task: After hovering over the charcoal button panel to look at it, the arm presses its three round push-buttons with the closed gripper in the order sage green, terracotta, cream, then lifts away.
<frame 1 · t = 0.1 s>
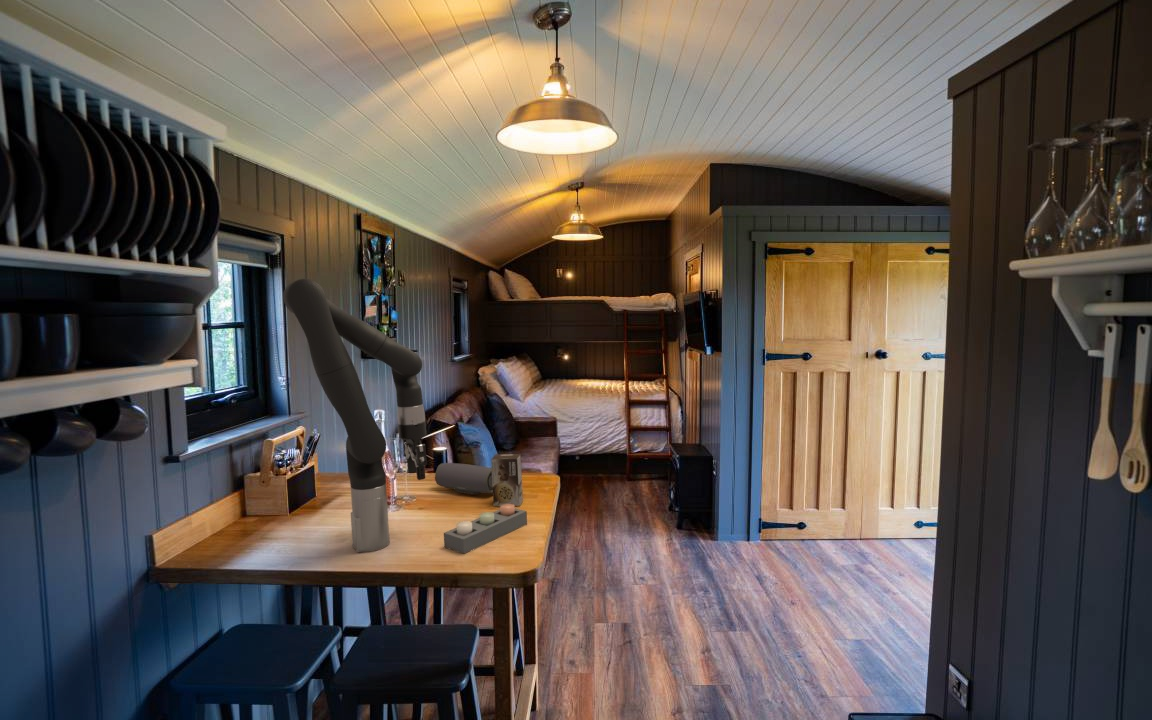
hand: (416, 475, 163), 17 cm above the table, tool pointing down, fingers open, 8 cm apart
coffee box: (508, 503, 189), on the table
button panel: (487, 535, 162), on the table
cream button: (464, 529, 155), point 4 cm above the table, slide at 0.0 cm
terracotta button: (507, 511, 169), point 4 cm above the table, slide at 0.0 cm
sage button: (487, 520, 162), point 4 cm above the table, slide at 0.0 cm
bluetooth speaker: (468, 492, 203), on the table
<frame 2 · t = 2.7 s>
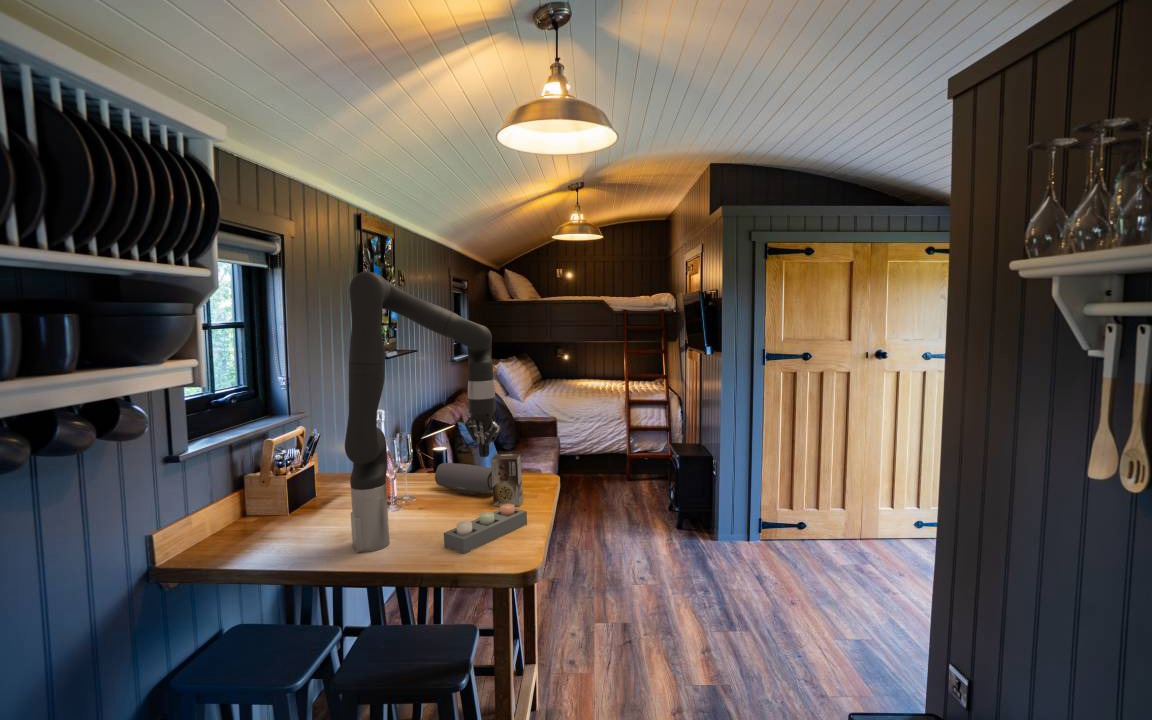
hand: (484, 456, 161), 23 cm above the table, tool pointing down, fingers closed
nothing on the table moved.
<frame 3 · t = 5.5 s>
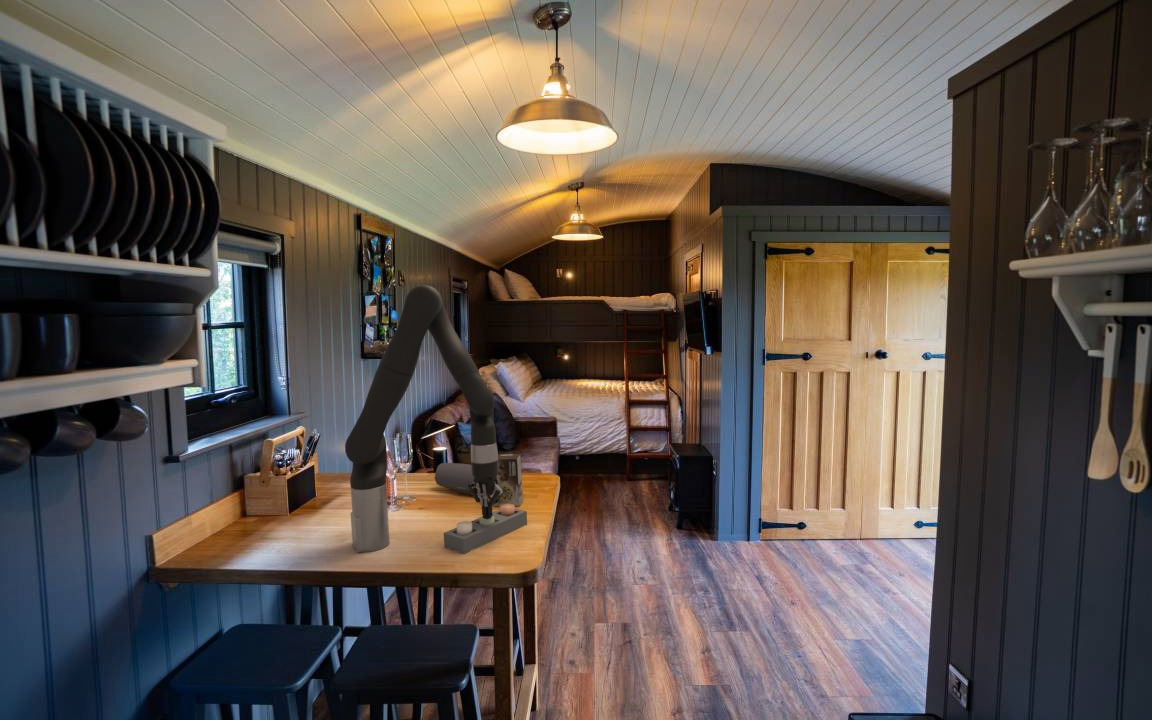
hand: (487, 517, 162), 5 cm above the table, tool pointing down, fingers closed
sage button: (487, 523, 162), point 3 cm above the table, slide at 1.0 cm, touching gripper
everything else where it was.
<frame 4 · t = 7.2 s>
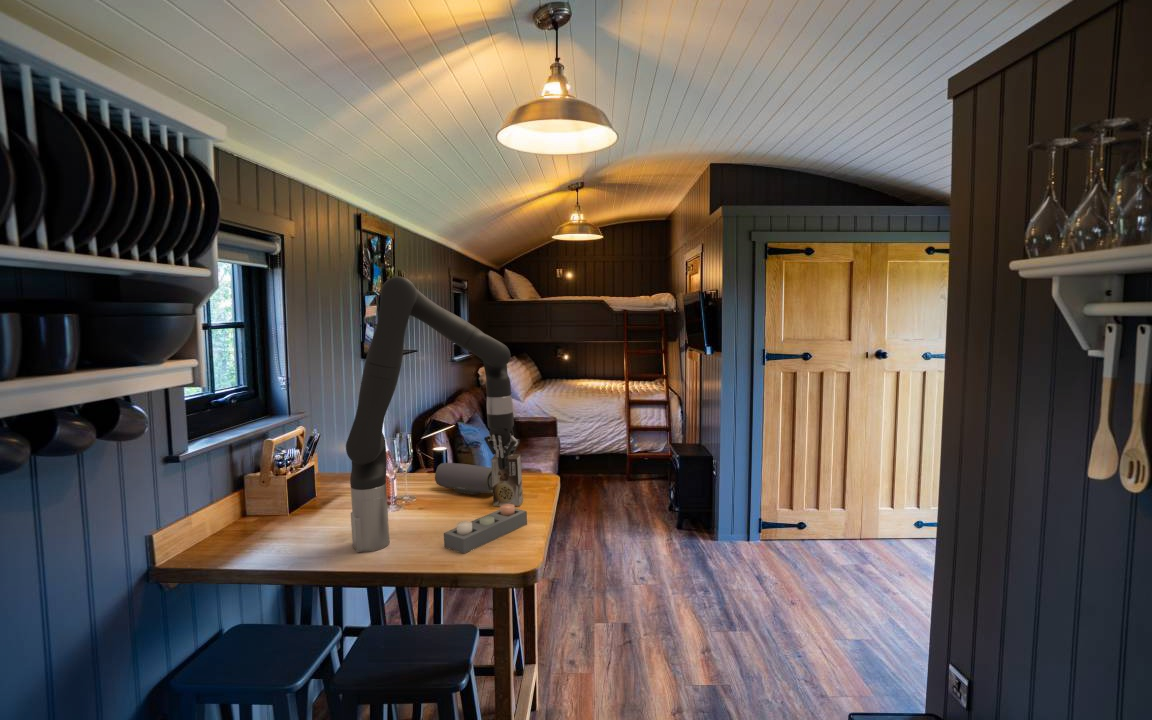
hand: (503, 469, 166), 18 cm above the table, tool pointing down, fingers closed
sage button: (487, 524, 162), point 3 cm above the table, slide at 1.2 cm
everything else where it was.
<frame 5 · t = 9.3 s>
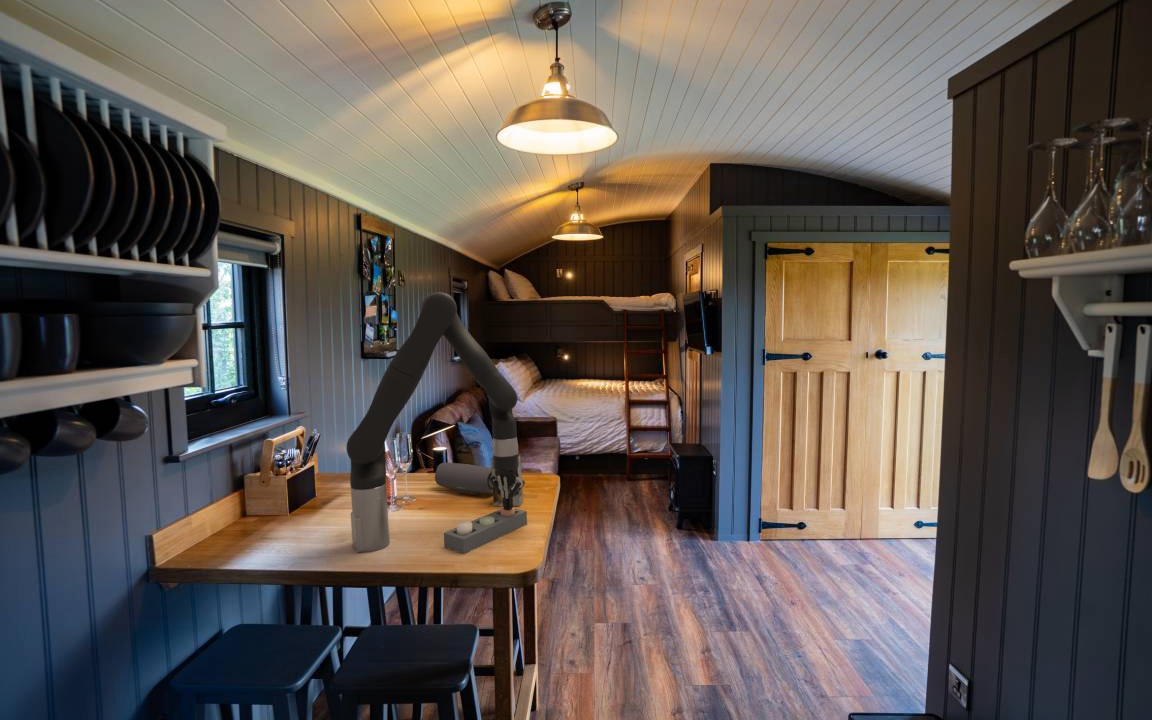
hand: (508, 509, 169), 5 cm above the table, tool pointing down, fingers closed
terracotta button: (507, 514, 169), point 3 cm above the table, slide at 1.0 cm, touching gripper
everything else where it was.
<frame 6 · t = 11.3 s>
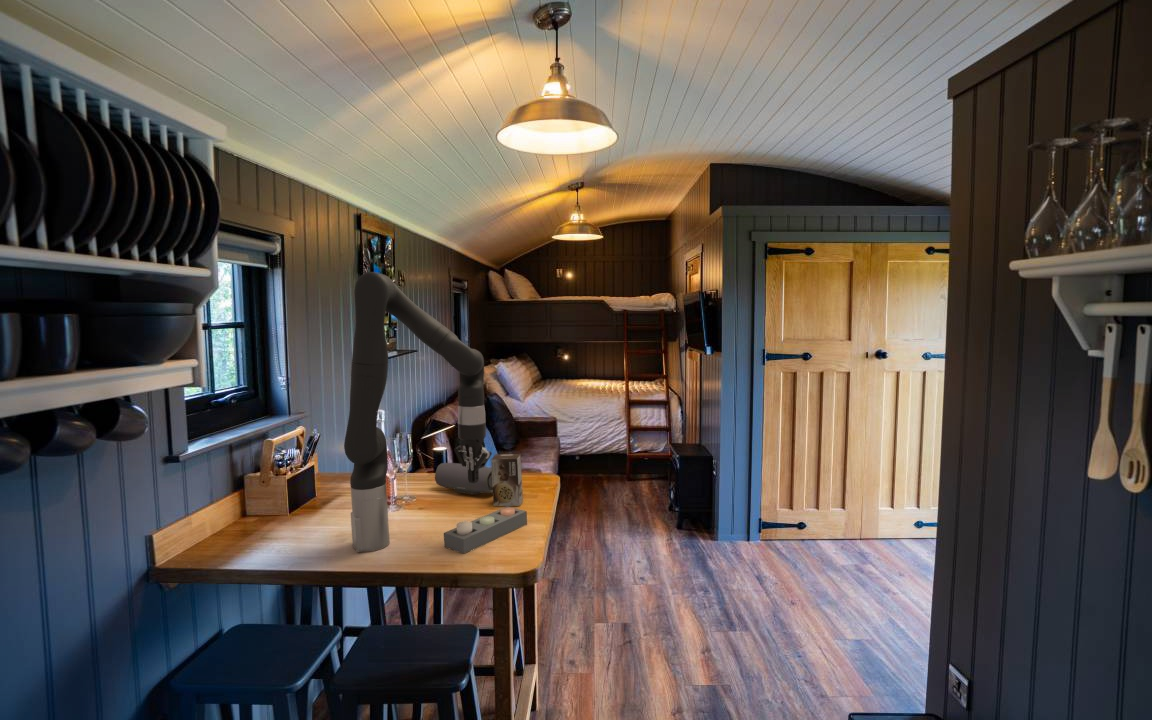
hand: (473, 482, 158), 16 cm above the table, tool pointing down, fingers closed
terracotta button: (507, 515, 169), point 3 cm above the table, slide at 1.2 cm
everything else where it was.
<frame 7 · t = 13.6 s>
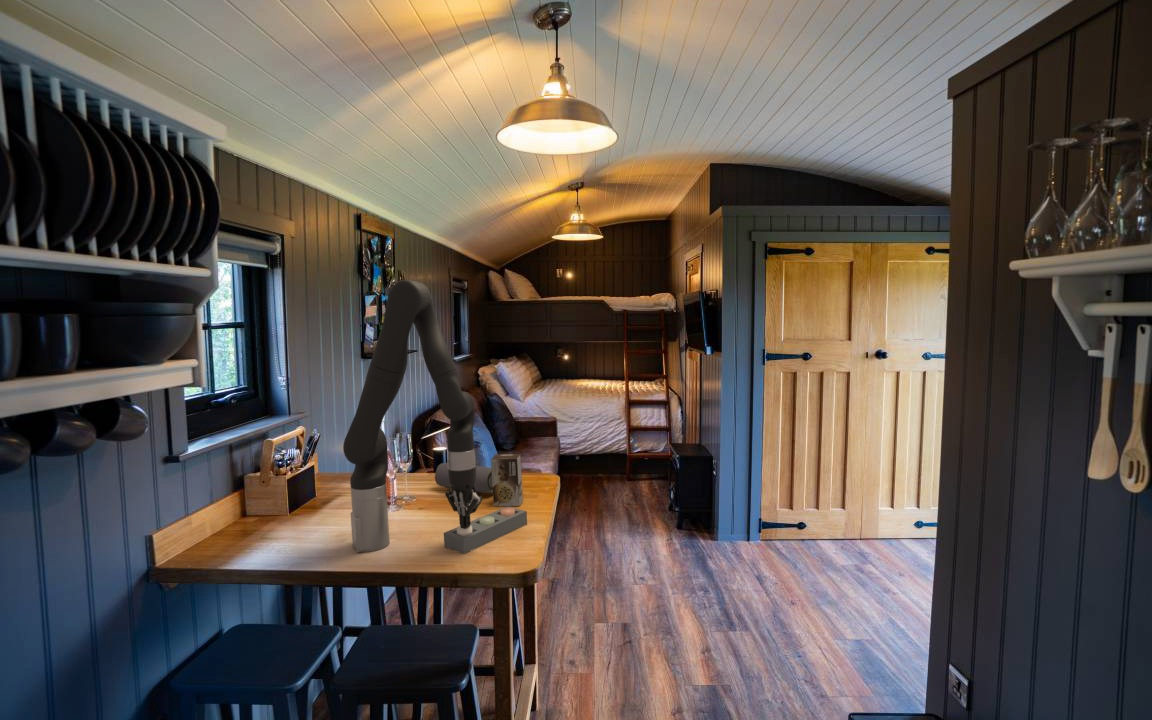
hand: (465, 527, 155), 5 cm above the table, tool pointing down, fingers closed
cream button: (464, 533, 155), point 3 cm above the table, slide at 1.0 cm, touching gripper
everything else where it was.
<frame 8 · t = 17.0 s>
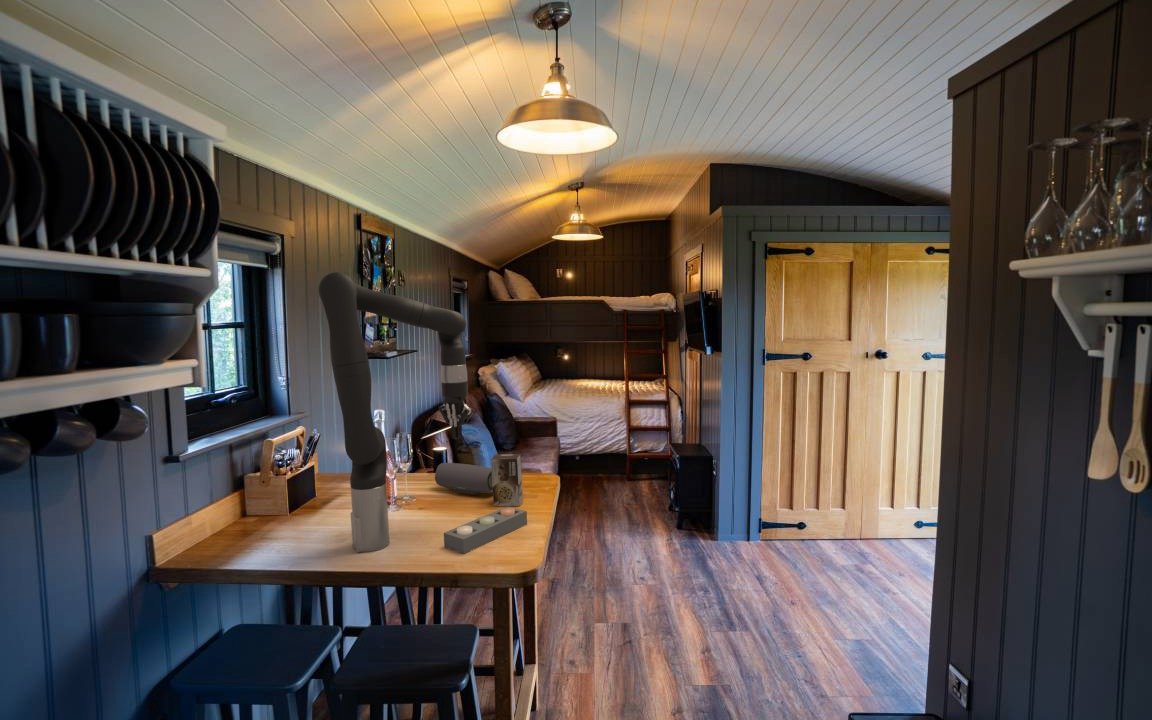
hand: (457, 438, 166), 27 cm above the table, tool pointing down, fingers closed
cream button: (464, 534, 155), point 3 cm above the table, slide at 1.2 cm
everything else where it was.
at the end: sage button slide at 1.2 cm; terracotta button slide at 1.2 cm; cream button slide at 1.2 cm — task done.
